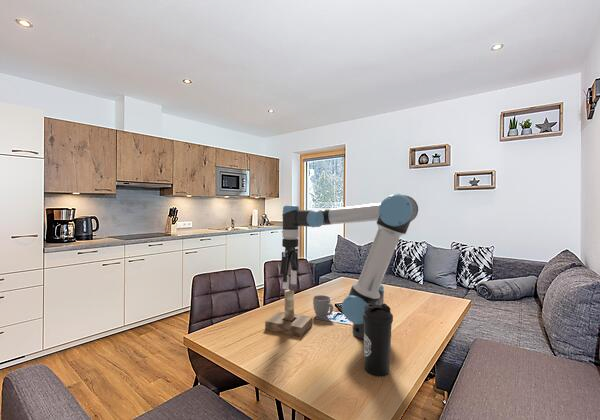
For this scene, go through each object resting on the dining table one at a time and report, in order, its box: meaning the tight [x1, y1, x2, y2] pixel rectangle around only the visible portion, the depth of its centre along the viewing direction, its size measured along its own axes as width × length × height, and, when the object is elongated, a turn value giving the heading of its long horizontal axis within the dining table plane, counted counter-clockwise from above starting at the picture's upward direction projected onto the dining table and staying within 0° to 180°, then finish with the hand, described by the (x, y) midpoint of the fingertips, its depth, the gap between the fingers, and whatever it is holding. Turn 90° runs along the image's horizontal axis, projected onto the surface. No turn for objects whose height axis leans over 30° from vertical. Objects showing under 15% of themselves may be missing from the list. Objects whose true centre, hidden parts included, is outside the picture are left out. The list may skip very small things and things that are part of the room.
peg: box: [284, 289, 295, 322], centre depth 141 cm, size 4×4×16 cm
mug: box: [312, 294, 334, 319], centre depth 155 cm, size 12×9×10 cm
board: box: [264, 310, 313, 337], centre depth 141 cm, size 18×14×4 cm
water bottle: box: [363, 303, 394, 377], centre depth 106 cm, size 10×10×23 cm
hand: (289, 286), depth 141 cm, fingers open, 9 cm apart
